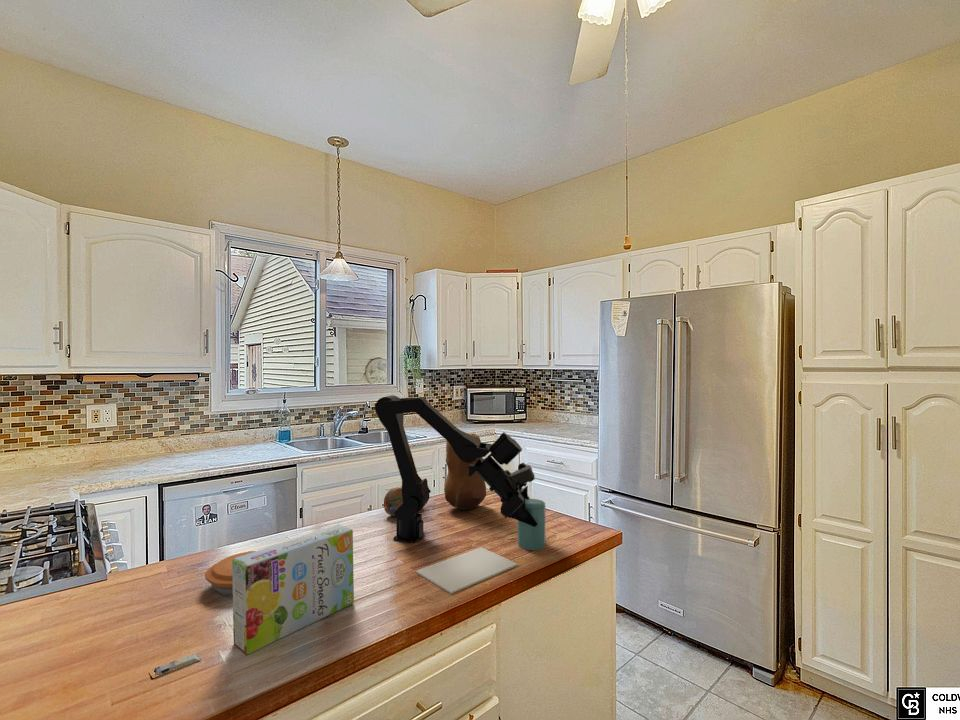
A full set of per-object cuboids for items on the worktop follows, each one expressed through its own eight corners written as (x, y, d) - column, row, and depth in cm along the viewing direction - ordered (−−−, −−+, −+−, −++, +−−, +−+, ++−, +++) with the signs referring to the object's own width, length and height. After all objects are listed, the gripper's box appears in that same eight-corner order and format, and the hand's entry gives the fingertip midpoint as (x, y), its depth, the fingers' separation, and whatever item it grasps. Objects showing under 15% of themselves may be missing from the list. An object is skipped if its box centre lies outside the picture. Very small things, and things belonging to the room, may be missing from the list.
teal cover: (514, 547, 121) (514, 505, 121) (522, 537, 127) (522, 497, 127) (541, 551, 118) (541, 508, 118) (547, 541, 125) (547, 500, 125)
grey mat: (451, 594, 97) (451, 592, 97) (415, 572, 107) (415, 570, 107) (517, 565, 110) (517, 563, 110) (481, 548, 120) (481, 547, 120)
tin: (388, 519, 142) (388, 492, 142) (382, 517, 144) (381, 490, 144) (423, 507, 154) (423, 481, 154) (416, 505, 156) (416, 480, 156)
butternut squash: (468, 499, 162) (468, 427, 162) (494, 509, 151) (494, 432, 151) (435, 507, 153) (435, 431, 153) (460, 518, 142) (460, 436, 142)
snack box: (338, 595, 97) (338, 522, 97) (354, 604, 93) (354, 529, 93) (231, 643, 80) (231, 556, 80) (246, 657, 77) (246, 566, 77)
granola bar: (197, 656, 78) (197, 650, 78) (201, 662, 76) (201, 656, 76) (148, 675, 73) (148, 668, 73) (151, 682, 71) (151, 675, 71)
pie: (207, 609, 91) (207, 584, 91) (203, 578, 104) (203, 556, 104) (290, 588, 100) (290, 565, 100) (277, 561, 113) (277, 541, 113)
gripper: (514, 463, 114) (559, 511, 113) (518, 448, 133) (558, 489, 131) (482, 494, 115) (526, 541, 114) (491, 475, 134) (529, 515, 132)
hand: (536, 519), depth 123 cm, fingers open, 8 cm apart
